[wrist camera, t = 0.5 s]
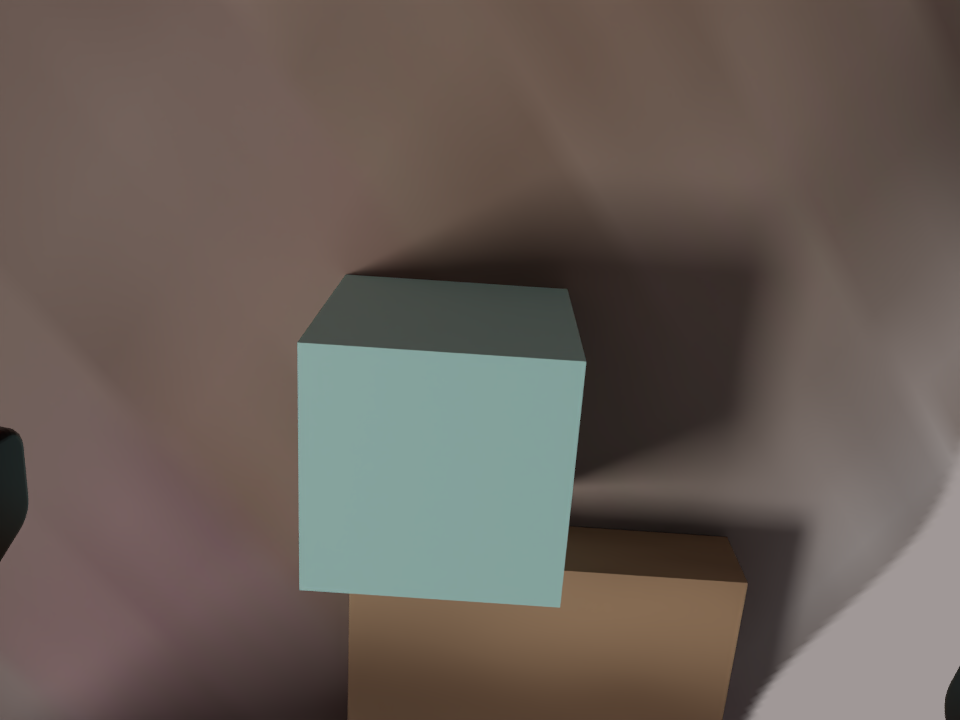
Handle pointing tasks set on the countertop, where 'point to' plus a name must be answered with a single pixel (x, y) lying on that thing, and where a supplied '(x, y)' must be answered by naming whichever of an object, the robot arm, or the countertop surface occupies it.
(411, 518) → the teal block
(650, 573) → the walnut base
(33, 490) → the countertop surface
